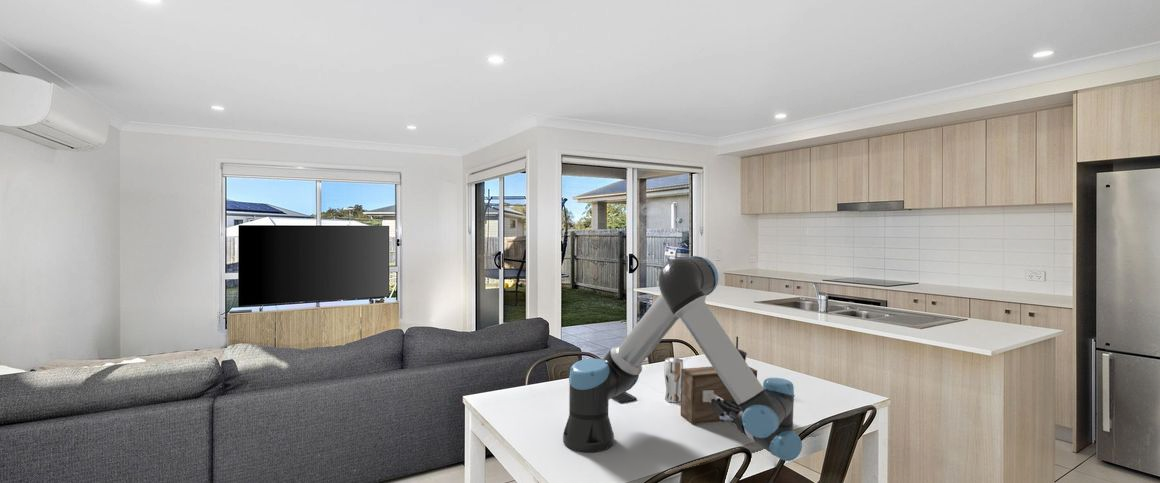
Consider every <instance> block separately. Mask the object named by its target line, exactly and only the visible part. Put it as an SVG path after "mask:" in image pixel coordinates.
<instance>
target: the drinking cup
mask: <svg viewBox="0 0 1160 483" xmlns="http://www.w3.org/2000/svg"><path fill="white" fill-rule="evenodd" d="M735 339H736V341H735V347H736V348H737V350H738V351H739V353H740V354H741V356H742V357H743V359H744V360H745V361H746V359H747V355H748V353H747V352H746V351H745V350H742V349H739V337H738V336H736V338H735Z"/></svg>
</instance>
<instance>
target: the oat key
mask: <svg viewBox="0 0 1160 483" xmlns="http://www.w3.org/2000/svg"><path fill="white" fill-rule="evenodd" d="M708 393H714V390H712V389H706V390H702V402H708Z"/></svg>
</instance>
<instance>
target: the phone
mask: <svg viewBox="0 0 1160 483" xmlns="http://www.w3.org/2000/svg"><path fill="white" fill-rule="evenodd" d="M611 400H612V401H614V402H616V403H618V404H625V403H631V402H636V401H637V396H635V395H632V394H631V393H628V392H627V391H626V392H623V393H621V394H619V395H617V396H615V397H613V398H611Z"/></svg>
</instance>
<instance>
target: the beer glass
mask: <svg viewBox="0 0 1160 483" xmlns="http://www.w3.org/2000/svg"><path fill="white" fill-rule="evenodd" d="M663 368H664V369H663V371H664V372H663V373H664V374H663V375H664V381H665V382H664V383H665V397H664V400H665V402H668V403H673V404H675V403H676V404H677V403H681V369H684V359H682V358H679V357H666V358H665V359H664V366H663Z"/></svg>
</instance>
